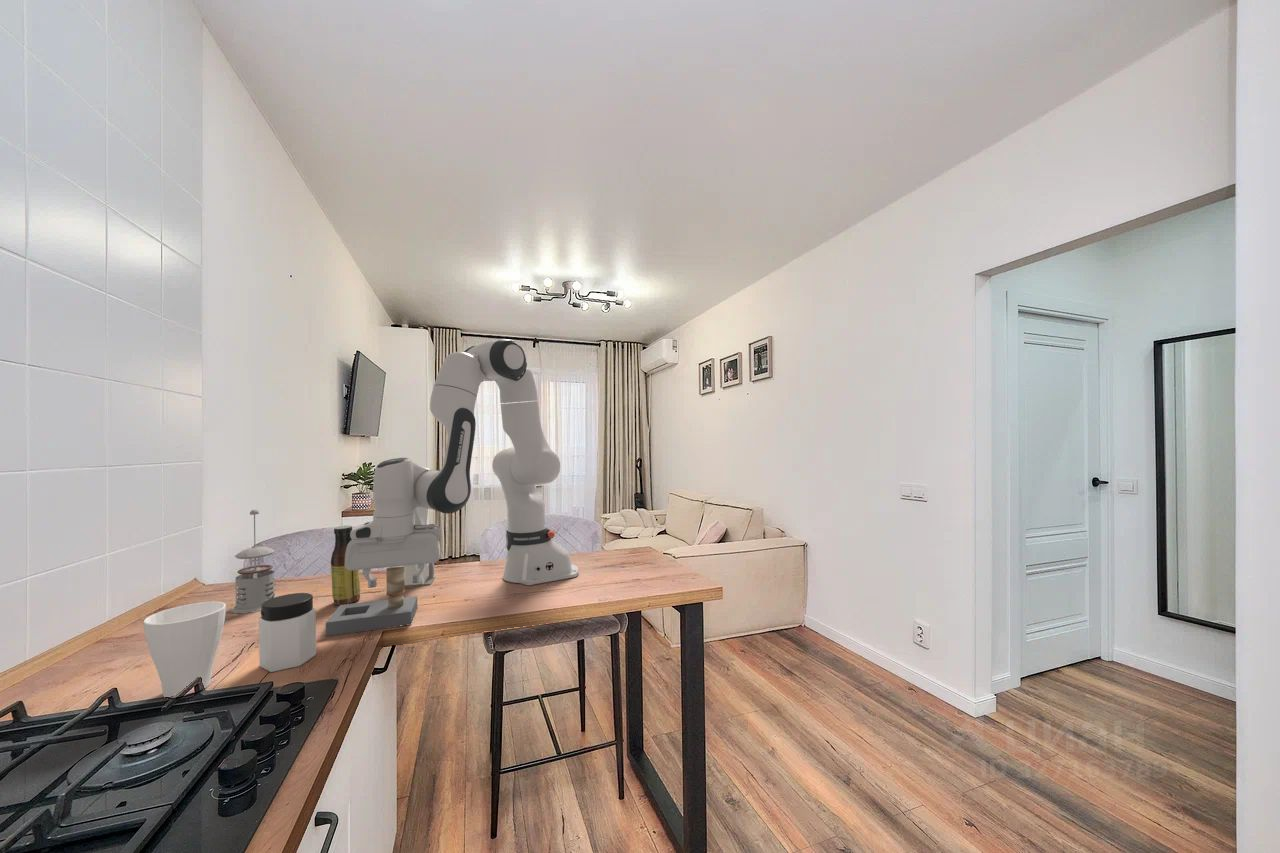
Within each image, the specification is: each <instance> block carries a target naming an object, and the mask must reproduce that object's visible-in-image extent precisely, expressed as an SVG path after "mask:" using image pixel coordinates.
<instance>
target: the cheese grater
mask: <svg viewBox="0 0 1280 853" xmlns="http://www.w3.org/2000/svg"><path fill="white" fill-rule="evenodd" d="M428 514H429V509H427V508H424V507H416V508H415V525H428V524H427V522H428V516H429V515H428ZM419 570H420V569H418V564H417V565H406V566H404V583H405V588H408V586H412V587H422V586H423V585H424V586H431V585H432V584H433V582H434V580H435V579H436V576H435V563H428V564H425V567H424V569H423V571H422V573H421V575H420V583H413V575H414V574H417V573H418V572H419ZM421 585H422V586H421Z"/></svg>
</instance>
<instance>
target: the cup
mask: <svg viewBox="0 0 1280 853" xmlns="http://www.w3.org/2000/svg"><path fill="white" fill-rule="evenodd" d="M226 609H227V604H226V603H224V602H223V601H203V602H202V601H201V602H195V603H189V604H184V605H178V606H175V607H171V608H167V609H164V610H161V611H158V612H156V613H153V614H151V615H149V616H147V617H146V618H145V619H144V620H143V622H142V623H143V629H144V630H143V632H144V637H145V641H146V644H147V645H146V646H147V648H148V651H149V654H150V657H151V659H152V661H153V664H154V666H155V669H156V670H157V674H158V677H159V680H160V684H161V690H162V696H163V697H164V698H165V697H171V696H174V695H175V694H178V693H179V692H181V691H182V690H183V689H184V688H186V686H188V685H189V684H190V683H191V682H193V681H194V680H195V679H196V678H197V677H201V678H202V683H203V685H204V687H205V689H206V688H208V687H209V686H210V685H211V683H212V674H213V673H212V672H213V668H214V663H215V660H216V659H215V658H216V655H217V650H218V648H219V645H220V642H221V638H222V635H223V629H224V625H225V620H226V611H227V610H226Z"/></svg>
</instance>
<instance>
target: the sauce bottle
mask: <svg viewBox="0 0 1280 853" xmlns="http://www.w3.org/2000/svg"><path fill="white" fill-rule="evenodd" d="M352 530H353V526H352V525H340V526H336V527H334V529H333V534H334V536H335V537H334V544H335V545H334V547H333V551H332V553H331V557H330V570H331V589H332V590H331V591H332V592H331V593H332V595H331V596H332V599H333V603H334V604H335V605H337V606H340V605H344V604H349V603H350V604H353V602H354V603H357V602H358V601H359V600H360V598H361V594H360V593H361V581H360V570H352V571H349V570H347V569H346V567H345V554H346V548H347V545H348V543H349V542H350V541H351V540H352V539H351V537H350V533H351V531H352Z"/></svg>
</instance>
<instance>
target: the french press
mask: <svg viewBox="0 0 1280 853" xmlns="http://www.w3.org/2000/svg"><path fill="white" fill-rule="evenodd" d="M259 514H260V511H259V510H258V509H252V510H250V512H249V515H251V516H252V515H253V536H254V537H253V540H254V541H253V545H254V546H252V547H249V548H248V547H247V548H246V549H243V550H240V552H238V553H236V554H235V555H234V557H235V558H236V559H237V560H238V559H239V560H249V559H250V560H249V562H250V566H247V567H243V568H241V569H239V570H238V571H237V574H239V575H237V576H236V577H235V605H234V607H233V608H232V609H231V610H230V612H231V613H232V612H233V613H232V614H237V613H241V614H248V613H247V612H251V613H253V612H252V611H257V610H260V609H261V605H262V604H263V603H264V602H265V601H267V600H269V599H272V598H275V597H276V587H275V585H276V582H275V581H276V578H275V577H276V575H275V571H274V570H272V569H273V565H271V564H261V563H260V561H261V559H260V558H264V557H267V556H270V555H273V554H274V553H275V552H276V551H275V549H273V548H271V547H267V546H256V515H259ZM253 559H254V560H253ZM257 561H258V563H257ZM253 562H254V565H253ZM256 563H257V564H258V565H257V564H256ZM252 565H253V566H252ZM255 574H256V577H254V575H255ZM257 612H258V611H257Z"/></svg>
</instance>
